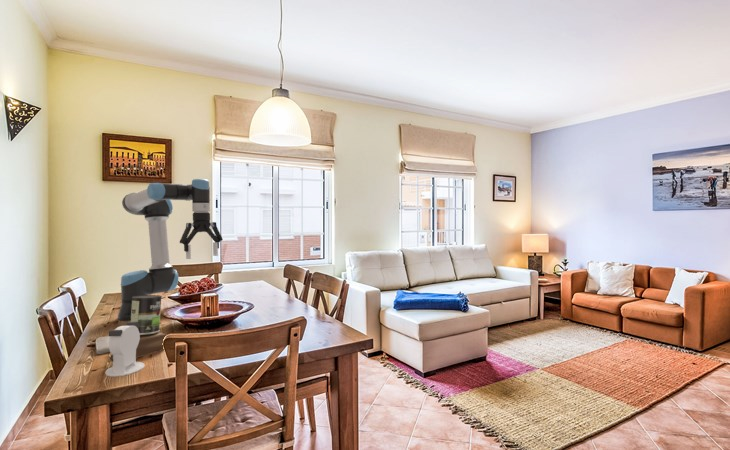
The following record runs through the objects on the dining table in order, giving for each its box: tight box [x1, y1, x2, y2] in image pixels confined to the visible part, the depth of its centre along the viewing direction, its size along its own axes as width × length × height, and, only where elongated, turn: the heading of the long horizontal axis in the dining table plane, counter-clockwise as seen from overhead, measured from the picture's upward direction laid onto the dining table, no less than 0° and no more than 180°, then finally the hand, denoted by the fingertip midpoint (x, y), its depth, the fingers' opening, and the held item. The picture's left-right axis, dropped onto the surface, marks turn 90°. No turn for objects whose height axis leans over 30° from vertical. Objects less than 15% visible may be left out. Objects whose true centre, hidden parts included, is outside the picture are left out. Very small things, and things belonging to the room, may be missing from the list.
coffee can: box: [130, 294, 163, 335], centre depth 148 cm, size 10×10×14 cm
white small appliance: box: [104, 321, 145, 378], centre depth 128 cm, size 12×11×15 cm
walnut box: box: [136, 331, 167, 359], centre depth 146 cm, size 12×12×6 cm
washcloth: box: [95, 335, 110, 355], centre depth 152 cm, size 12×18×3 cm, turn 37°
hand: (202, 257), depth 176 cm, fingers open, 13 cm apart
